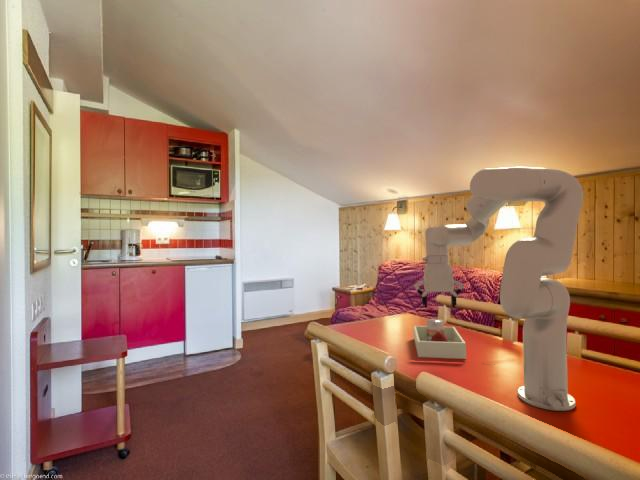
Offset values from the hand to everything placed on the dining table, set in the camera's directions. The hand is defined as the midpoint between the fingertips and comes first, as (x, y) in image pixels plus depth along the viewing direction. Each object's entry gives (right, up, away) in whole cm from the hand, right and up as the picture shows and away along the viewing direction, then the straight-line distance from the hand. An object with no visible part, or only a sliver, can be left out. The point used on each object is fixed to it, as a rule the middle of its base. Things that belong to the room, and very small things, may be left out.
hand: (439, 307), depth 126 cm
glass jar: (+2, -17, +11) cm, 20 cm away
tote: (+1, -17, +6) cm, 18 cm away
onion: (0, -17, 0) cm, 17 cm away
